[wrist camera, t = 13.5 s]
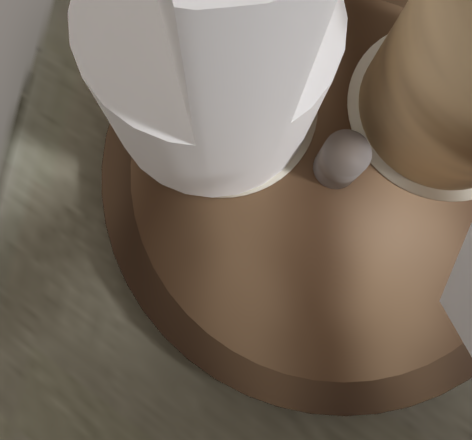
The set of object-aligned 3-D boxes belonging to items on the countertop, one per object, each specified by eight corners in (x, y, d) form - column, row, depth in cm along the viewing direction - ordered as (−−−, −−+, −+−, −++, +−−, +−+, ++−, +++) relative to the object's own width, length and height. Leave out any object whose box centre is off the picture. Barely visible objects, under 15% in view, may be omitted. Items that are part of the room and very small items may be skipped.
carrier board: (513, -7, 23) (561, -58, 20) (573, 409, 19) (647, 430, 15) (122, -18, 22) (105, -74, 19) (92, 408, 18) (63, 431, 15)
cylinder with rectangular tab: (96, 39, 20) (-84, -346, 8) (278, -1, 21) (354, -404, 9) (138, 220, 18) (-13, 63, 6) (334, 170, 19) (519, -51, 7)
